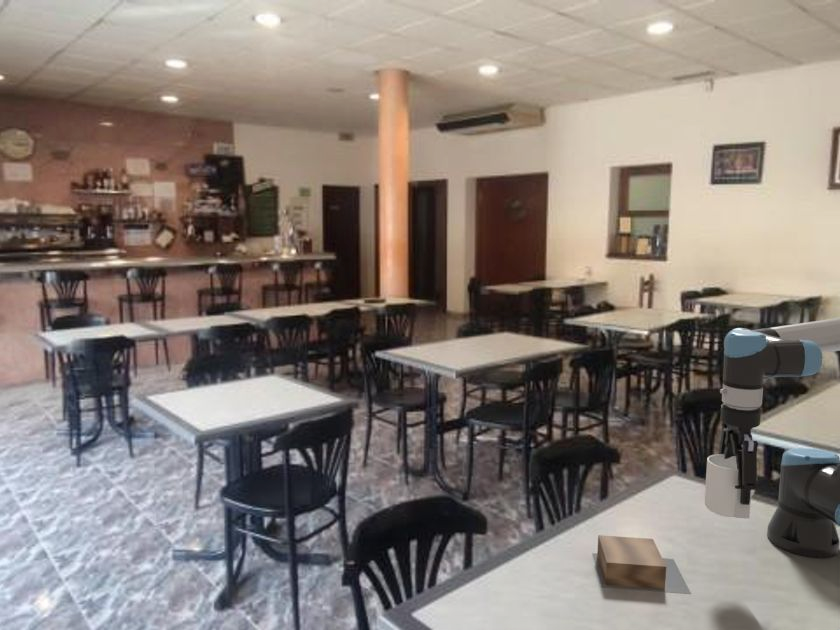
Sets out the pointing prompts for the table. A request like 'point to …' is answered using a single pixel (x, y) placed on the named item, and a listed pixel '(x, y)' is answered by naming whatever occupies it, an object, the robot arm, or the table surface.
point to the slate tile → (672, 584)
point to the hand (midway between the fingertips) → (733, 507)
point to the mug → (721, 485)
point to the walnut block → (631, 562)
